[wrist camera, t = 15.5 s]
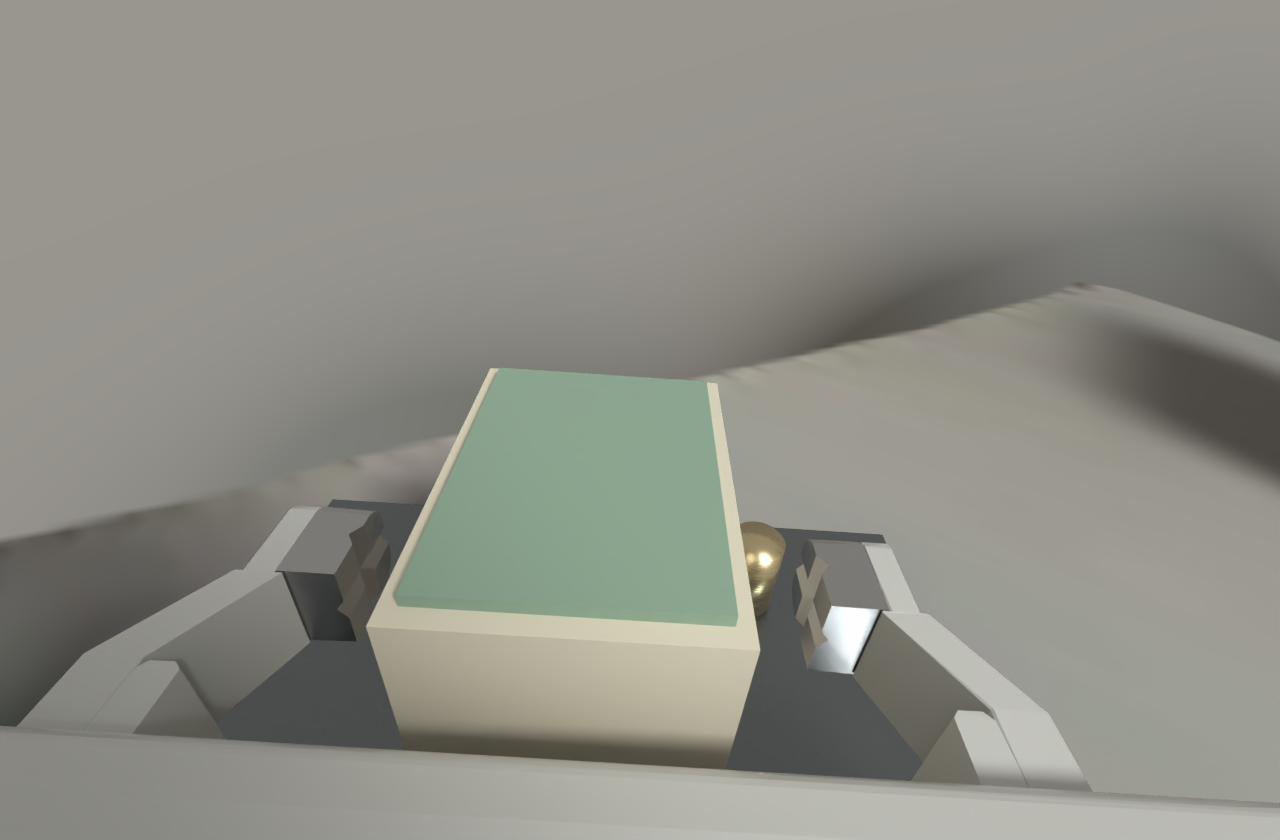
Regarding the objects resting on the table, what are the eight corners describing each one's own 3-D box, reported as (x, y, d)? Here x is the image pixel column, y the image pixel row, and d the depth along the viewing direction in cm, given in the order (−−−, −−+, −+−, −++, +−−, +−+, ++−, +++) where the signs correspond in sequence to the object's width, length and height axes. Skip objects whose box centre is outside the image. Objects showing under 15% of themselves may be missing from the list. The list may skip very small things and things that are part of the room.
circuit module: (455, 909, 12) (362, 615, 7) (516, 645, 17) (489, 359, 12) (680, 921, 12) (763, 639, 7) (674, 654, 17) (718, 374, 12)
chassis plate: (-245, 1428, 8) (-526, 1479, 6) (339, 519, 22) (315, 444, 20) (1255, 1493, 8) (1478, 1563, 6) (874, 553, 22) (904, 482, 20)
